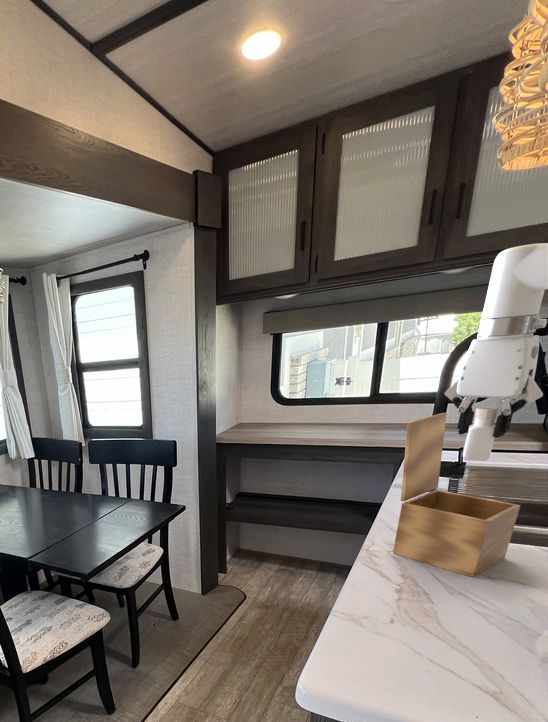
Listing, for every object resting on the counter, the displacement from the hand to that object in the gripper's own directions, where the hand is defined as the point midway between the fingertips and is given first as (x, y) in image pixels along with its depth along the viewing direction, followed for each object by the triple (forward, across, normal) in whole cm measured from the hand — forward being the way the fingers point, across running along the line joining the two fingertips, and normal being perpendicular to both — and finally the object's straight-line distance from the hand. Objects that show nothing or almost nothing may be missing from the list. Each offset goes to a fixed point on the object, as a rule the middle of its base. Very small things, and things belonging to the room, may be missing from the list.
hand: (481, 433), depth 88 cm
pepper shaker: (+5, 0, 0) cm, 5 cm away
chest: (+27, +2, -2) cm, 27 cm away
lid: (+6, +10, -2) cm, 12 cm away
